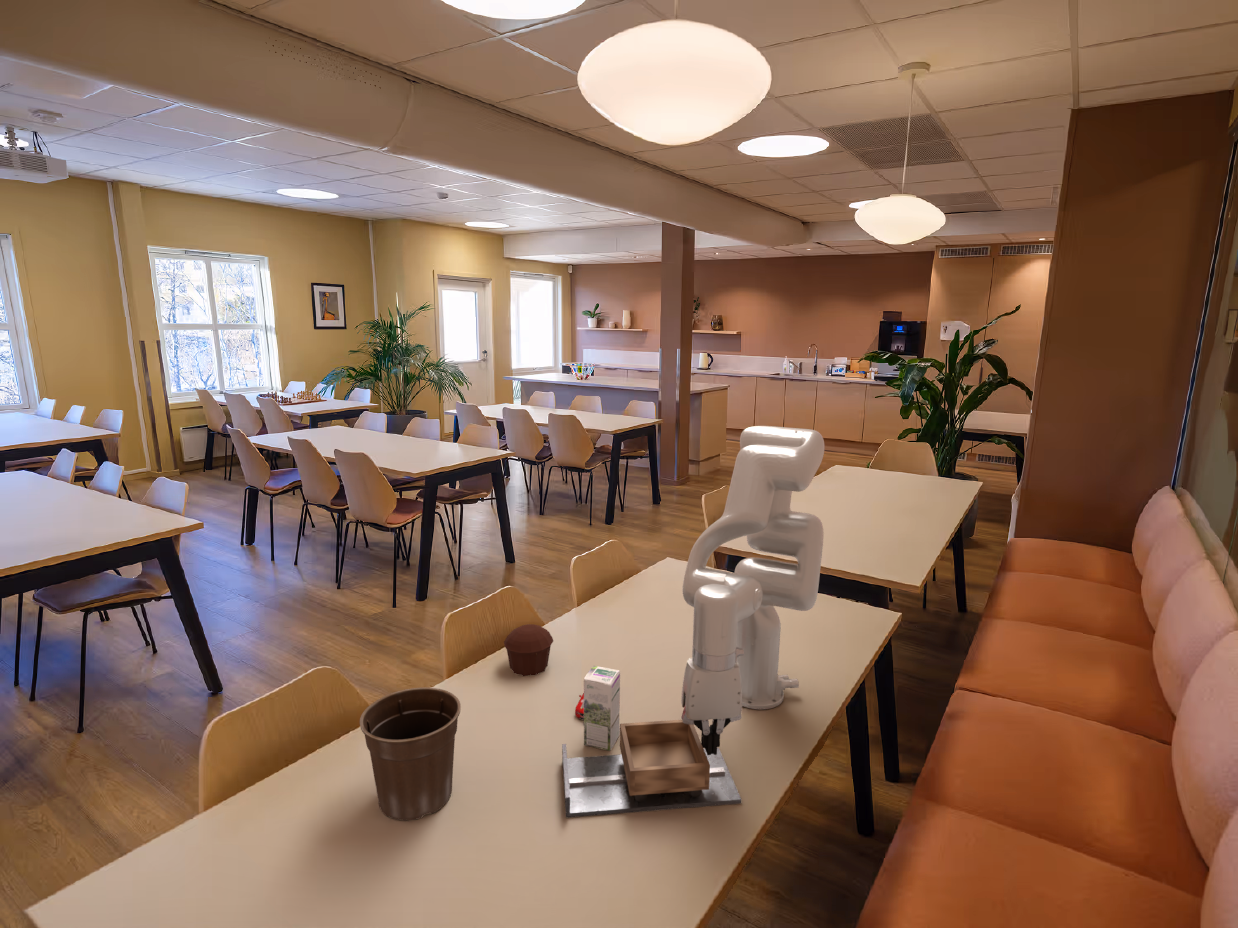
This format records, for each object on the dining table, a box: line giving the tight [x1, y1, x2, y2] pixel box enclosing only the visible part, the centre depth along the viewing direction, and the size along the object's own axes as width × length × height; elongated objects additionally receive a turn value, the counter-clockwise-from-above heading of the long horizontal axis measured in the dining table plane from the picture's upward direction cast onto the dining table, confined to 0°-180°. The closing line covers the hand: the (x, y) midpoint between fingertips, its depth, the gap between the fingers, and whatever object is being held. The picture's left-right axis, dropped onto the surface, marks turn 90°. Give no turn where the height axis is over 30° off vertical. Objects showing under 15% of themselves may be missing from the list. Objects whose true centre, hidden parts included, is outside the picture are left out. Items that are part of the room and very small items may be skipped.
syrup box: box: [583, 665, 621, 752], centre depth 128 cm, size 6×6×14 cm
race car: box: [574, 692, 584, 721], centre depth 142 cm, size 13×5×4 cm, turn 165°
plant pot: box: [359, 687, 462, 821], centre depth 112 cm, size 16×16×16 cm
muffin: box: [503, 623, 554, 677], centre depth 157 cm, size 12×11×10 cm
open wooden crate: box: [619, 719, 710, 802], centre depth 117 cm, size 14×14×7 cm
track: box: [561, 743, 742, 819], centre depth 117 cm, size 30×14×4 cm, turn 97°
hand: (710, 749), depth 118 cm, fingers closed
